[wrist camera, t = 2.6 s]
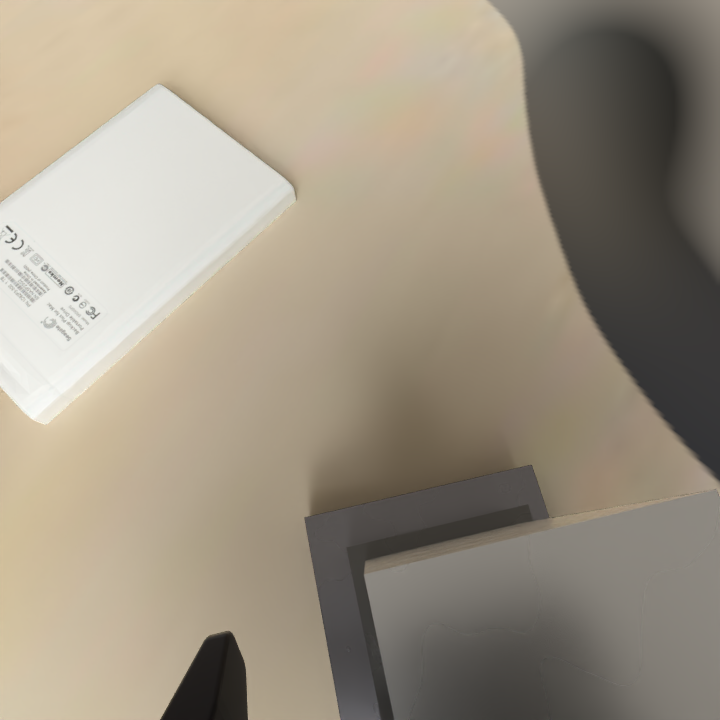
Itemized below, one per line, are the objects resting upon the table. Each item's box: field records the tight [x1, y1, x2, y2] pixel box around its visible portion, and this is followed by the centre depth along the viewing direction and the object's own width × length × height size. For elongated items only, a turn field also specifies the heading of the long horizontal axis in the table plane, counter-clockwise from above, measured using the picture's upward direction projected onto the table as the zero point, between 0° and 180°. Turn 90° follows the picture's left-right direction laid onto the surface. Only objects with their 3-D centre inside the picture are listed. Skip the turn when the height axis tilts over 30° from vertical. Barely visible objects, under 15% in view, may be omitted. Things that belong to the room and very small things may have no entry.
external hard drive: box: [0, 84, 296, 425], centre depth 20 cm, size 2×8×12 cm
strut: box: [346, 489, 720, 720], centre depth 10 cm, size 5×5×10 cm
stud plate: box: [305, 465, 549, 720], centre depth 15 cm, size 7×7×2 cm
